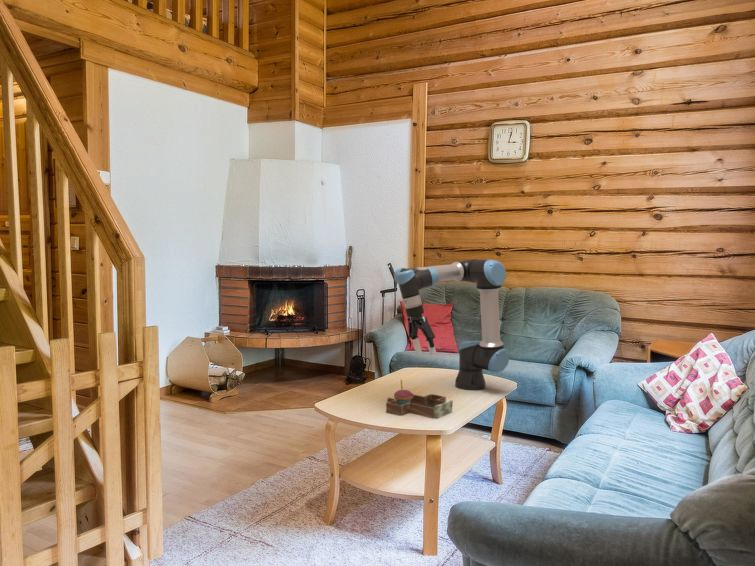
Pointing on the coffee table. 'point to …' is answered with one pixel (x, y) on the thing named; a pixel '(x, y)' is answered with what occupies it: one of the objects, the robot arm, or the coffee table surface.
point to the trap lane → (421, 406)
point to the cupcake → (403, 396)
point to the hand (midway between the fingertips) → (426, 354)
